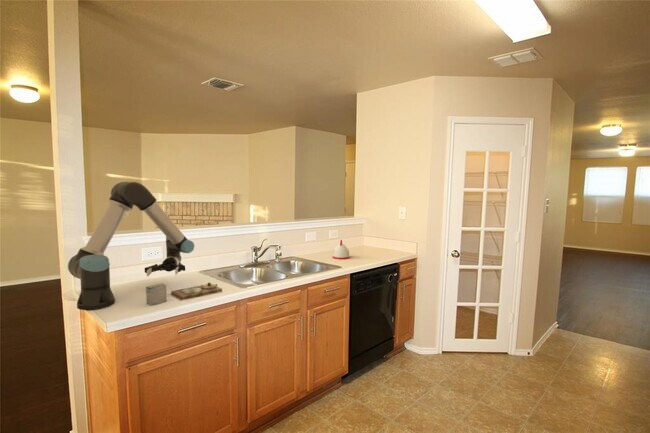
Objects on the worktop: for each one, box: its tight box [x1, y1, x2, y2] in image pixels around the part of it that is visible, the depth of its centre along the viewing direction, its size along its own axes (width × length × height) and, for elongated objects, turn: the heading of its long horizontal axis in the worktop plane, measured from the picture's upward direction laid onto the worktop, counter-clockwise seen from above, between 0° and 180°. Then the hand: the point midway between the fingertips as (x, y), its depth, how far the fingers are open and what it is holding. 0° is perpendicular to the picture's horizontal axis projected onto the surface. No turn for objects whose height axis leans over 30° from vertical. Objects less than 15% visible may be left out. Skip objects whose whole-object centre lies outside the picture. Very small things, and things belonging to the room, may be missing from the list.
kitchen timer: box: [332, 239, 350, 261], centre depth 289 cm, size 14×14×15 cm
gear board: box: [170, 282, 223, 301], centre depth 188 cm, size 22×14×4 cm, turn 135°
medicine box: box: [145, 283, 167, 307], centre depth 170 cm, size 8×4×9 cm, turn 147°
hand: (161, 272), depth 180 cm, fingers open, 13 cm apart
